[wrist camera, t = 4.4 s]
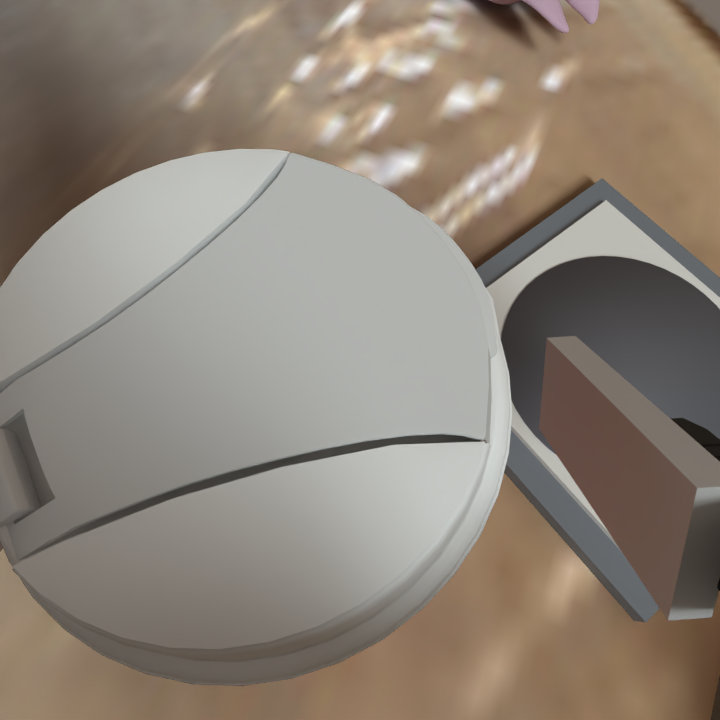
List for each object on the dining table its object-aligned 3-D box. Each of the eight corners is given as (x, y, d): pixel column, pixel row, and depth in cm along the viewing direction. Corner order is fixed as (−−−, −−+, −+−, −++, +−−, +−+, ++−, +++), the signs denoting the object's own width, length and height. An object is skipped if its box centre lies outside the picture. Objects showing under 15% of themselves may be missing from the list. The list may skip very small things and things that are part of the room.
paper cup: (270, 670, 18) (23, 887, 5) (177, 465, 21) (-145, 258, 8) (470, 543, 19) (681, 457, 6) (360, 366, 22) (353, 50, 9)
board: (388, 339, 22) (389, 327, 21) (595, 190, 25) (605, 172, 24) (634, 620, 18) (651, 622, 17) (847, 407, 21) (874, 397, 20)
